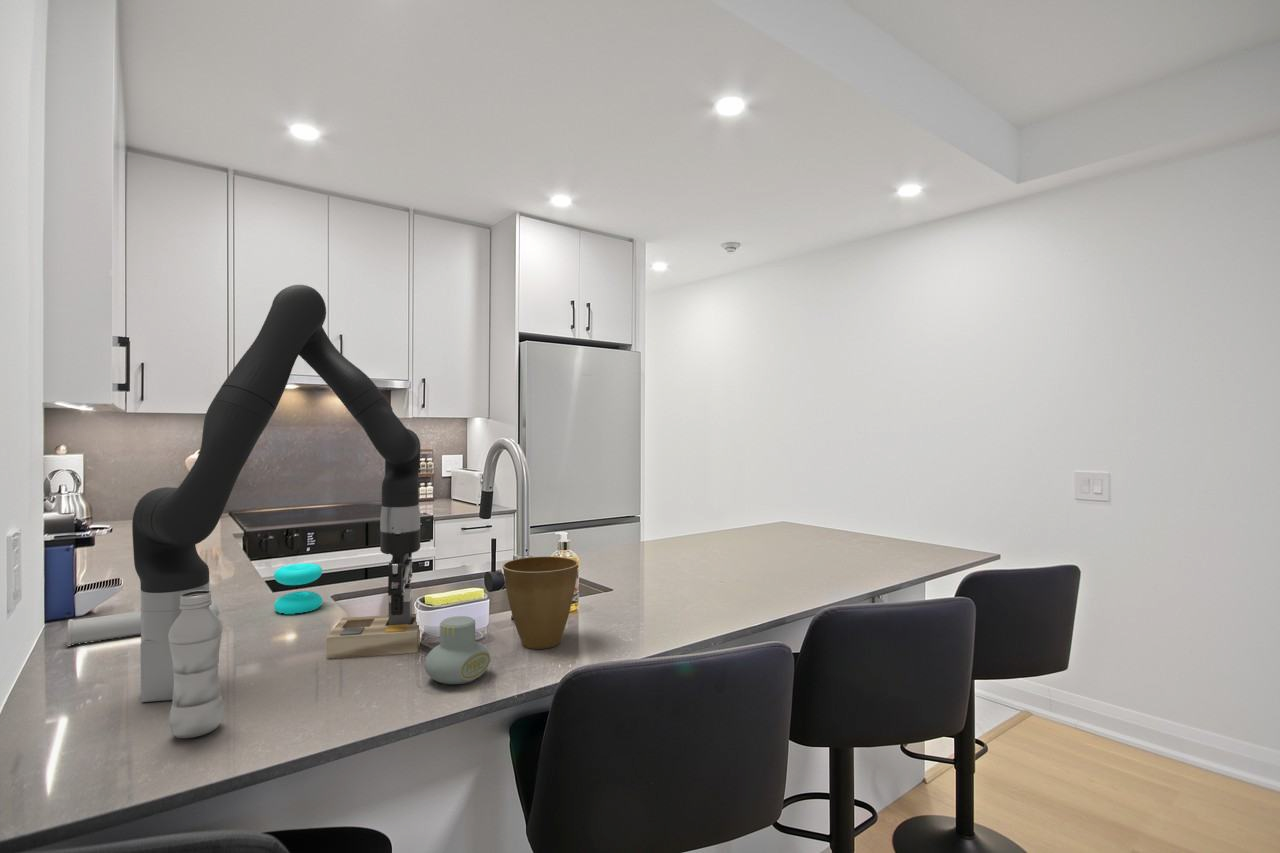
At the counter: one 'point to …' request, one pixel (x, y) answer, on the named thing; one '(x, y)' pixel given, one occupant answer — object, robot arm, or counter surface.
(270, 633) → the counter surface
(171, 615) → the robot arm
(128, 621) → the tube
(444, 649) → the air freshener
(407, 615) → the plug
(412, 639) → the socket block
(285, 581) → the donuts
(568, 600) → the plant pot
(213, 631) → the plastic bottle
